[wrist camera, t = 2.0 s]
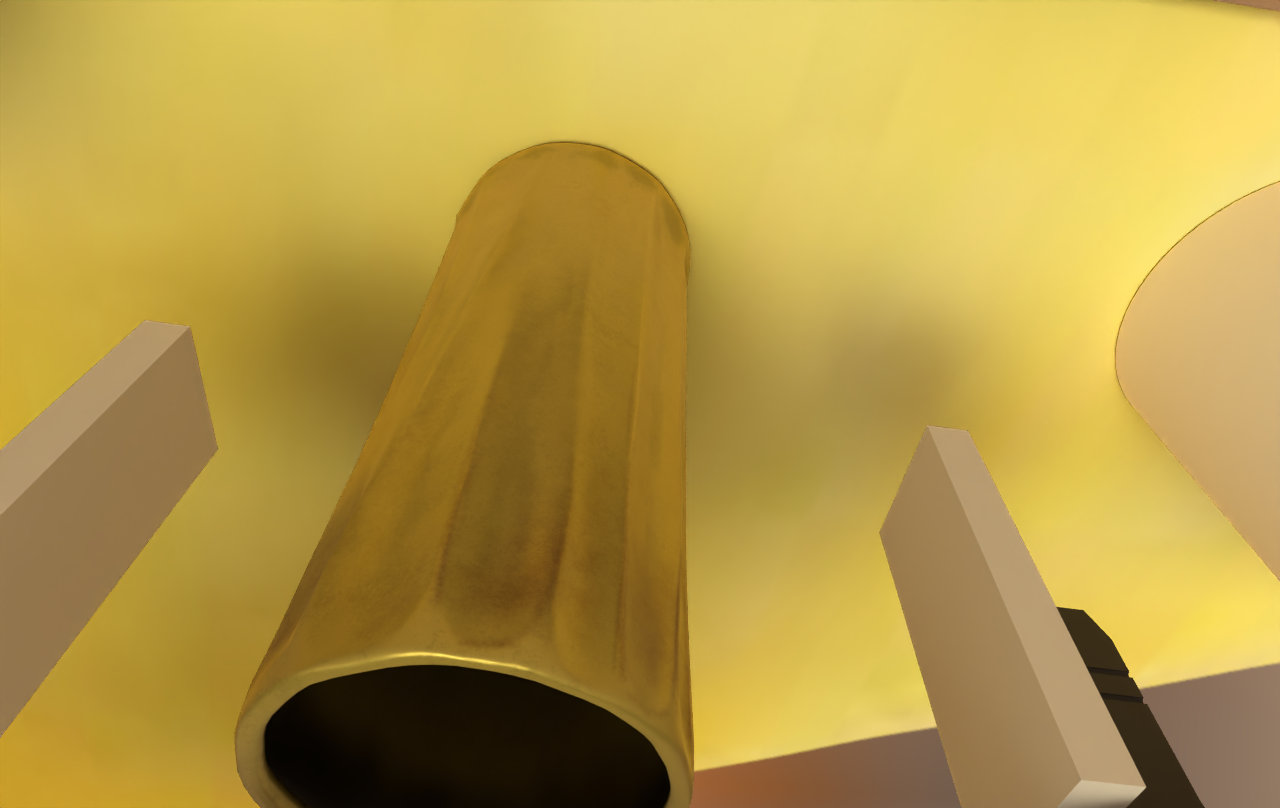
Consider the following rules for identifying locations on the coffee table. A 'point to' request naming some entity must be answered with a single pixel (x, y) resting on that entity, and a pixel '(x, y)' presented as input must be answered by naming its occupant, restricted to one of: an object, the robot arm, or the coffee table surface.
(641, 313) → the vase
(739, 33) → the coffee table surface
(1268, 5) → the board
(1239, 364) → the cup
